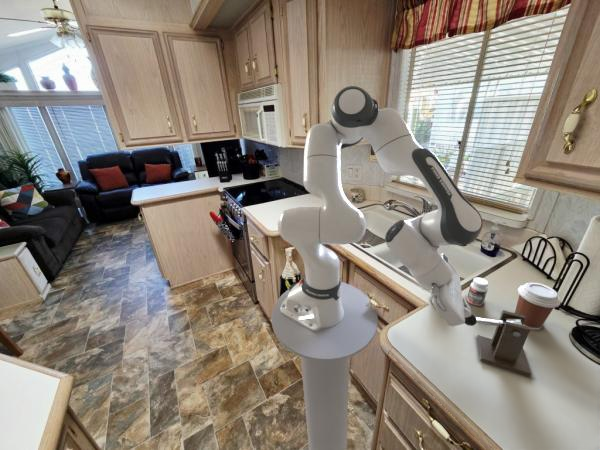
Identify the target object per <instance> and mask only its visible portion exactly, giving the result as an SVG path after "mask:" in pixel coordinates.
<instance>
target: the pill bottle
mask: <svg viewBox="0 0 600 450" xmlns="http://www.w3.org/2000/svg"><path fill="white" fill-rule="evenodd" d="M488 287H489V281H488V280H487V279H485V278H483V277H478V276H477V277H474V278H473V280H472V282H471V283H470V285H469V288H468V292H467V295H466V301H467V302H468V303H470V304H472V305H474V306H482V305H484V303H485V299H486V296H487V293H488V289H489V288H488Z"/></svg>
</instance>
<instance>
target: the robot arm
mask: <svg viewBox="0 0 600 450" xmlns="http://www.w3.org/2000/svg"><path fill="white" fill-rule="evenodd" d="M363 139H364V140H366V141H367V142H368V143H369V145H370V146H371V148H372V151H373V153H374V155H375V158H376V161H377V162H378V165H379V166H380V168H381V169H382V170H383V171H384V172H385V174H388V175H390V176H394V177H407V176H409V177H415V178H417V179H418V180H420V181H421V182H422V183H423V186H424V187H425V188H426V190H427V192H428V193H429V194H430V196H431V197H432V200H433V201H434V202H435V204H436V206H437V209H435V210H432V211H429V212H425V213H422V214H420V215H417V216H416V217H413V218H409V219H399V220H397V221H396V222H395V223H393V225H391V226H390V227H389V228H388V230H387V232H386V233H385V236H384V241H385V244H386V246H387V248H388V249H389V250H390V252H391V253H392V254H393V256H394V257H395V258H396V259H397V261H398V262H399V263H400V264H401V265H403V266H404V267H406V268H407V269H408V271H409V273H410V275H411V276H412V277H413V278H414V280H415V281H416V282H417V283H418V284H419V285H420V286H421V288H422V289H424V290H426V291H431V303H432V306H433V307H434V309H435V311H437V313H438V315H439V316H440V317H441V318H442V319H443V321H444V322H445V323H446V324H447V325H448V326H449V327H451V328H452V327H453V328H454V327H458V326H461V325H463V324H465V317H470V316H471V314H472V310H471V306H470V305H469V304H468V303H467V300H466V299H465V298H464V296H463V291H462V283H461V277H460V274H459V273H458V271H457V269H456V268H455V267H454V266H453V265H452V263H451V262H450V261H449V257H448V256H447V255H446V254H445V253H444V252H442V253H439V252H438V250H439V248H440V247H446V246H459V245H461V246H462V245H469V244H472V243H473V242H475V241H476V240H477V238H478V237H479V236H480V234H481V232H482V230H483V218H482V216H481V214H480V212H479V211H478V210H477V208H476V207H475V206H474V205H473V204H472V203H471V202H470V201H469V200H468V199H467V198H466V197H465V195H464V194H463V192H462V191H461V189H460V188H459V187H458V185H457V183H456V182H455V181H454V179H453V178H452V177H451V175H450V173H449V172H448V171H447V169H446V168H445V166H444V165H443V163H442V162H441V161H440V159H439V158H438V157H437V156H436V154H435V153H434V152H433V151H432V150H430V149H429V148H425V147H422V146H421V145H420V144H419V143H418V142H417V140H416V139H415V137H414V135H413V132H412V130H411V129H410V127H409V125H408V124H407V122H406V121H405V119H404V118H403V116H402V115H401V114H400V112H399V111H398V110H397V109H396V108H393V107H383V108H381V109H380V106H379V103H378V101H377V100H376V99H374V98H373V97H372V96H371V95H370V94H369V93H368V92H367V91H366V90H365V89H363V88H362V87H360V86H357V85H349V86H346V87H344V88H342V89H341V90H340V91H338V93H337V94H336V96H335V97H334V99H333V102H332V106H331V119H330V120H328V121H327V122H319V123H316V124H314V125H312V126H311V127H309V129H308V130H307V133H306V138H305V141H304V150H303V151H304V152H303V170H302V171H303V172H302V173H303V177H302V183H303V184H302V185H303V187H304V189H305V190H306V191H307V192H308V193H310V194H311V195H313V196H315V197H317V198H320V199H321V200H322V201H323V205H322V206H298V207H293V208H287V209H284V210H283V211H282V212H281V214H280V216H279V217H278V221H277V230H278V233H279V236H280V238H281V239H283V241H284V242H287V243H288V244H289V245H291V246H292V247H293V248H294V249H295V250H296V252H298V254H299V255H300V257H301V259H302V262H303V266H304V274H303V275H302V276H301V278H300V280H299V281H298V282H297V281H296V282H295V283H293V284H291V285H290V286H289V287H288V290H289V294H288V296H287V297H286V298H285V300H284V301H283V303H282V305H281V314H282V315H284V316H286V317H288V318H289V319H291V320H293V321H295V322H296V323H298V324H300V325H302V326H303V327H305V328H307V329H308V330H310V331H312V332H316V331H318V330H320V329H322V328H328V327H332V326H335V325H337V324H338V323H339V322H340V321H341V320H342V319H343V317H344V309H343V306H342V303H341V297H340V295H341V282H342V279H341V277H340V272H341V269H340V268H341V267H340V258H339V256H338V255H337V254H336V252H335V251H333V250H332V249H330V248H328V247H326V246H325V245H340V246H341V245H350V244H355V243H359V242H361V240H362V239H363V238H364V236H365V233H366V230H367V221H366V217H365V216H364V214H363V212H362V211H361V210H360V209H358V208H357V207H355V205H353V203H351V202H350V200H349V199H348V198H347V196H346V194H345V191H344V189H343V185H342V175H341V152H342V149H346V148H350V147H354V146H356V145H358V144H359V143H360V142H361V141H362V140H363Z"/></svg>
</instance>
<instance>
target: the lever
mask: <svg viewBox="0 0 600 450" xmlns="http://www.w3.org/2000/svg"><path fill="white" fill-rule="evenodd" d="M506 322H510V323H514V324H518V325H522V323H521V320H520V319H514V318H506V321H500V320H499V319H491V318H483V317H478V316H477V317H476V315H475V314H473V313H471V316H470V317H465V323H464V324H465V325H467V326H469V327H474V326H475V325H476V324H480V325H485V326H486V325H488V326H495V327H497V326H501V327H504V325H505V323H506ZM522 326H523V325H522Z"/></svg>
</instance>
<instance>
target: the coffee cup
mask: <svg viewBox="0 0 600 450" xmlns="http://www.w3.org/2000/svg"><path fill="white" fill-rule="evenodd" d="M517 293H518V299H517V303H516V307H515V311H514V313H516V314H520V315H524V316H525V318H526V319H525V321H524V323H523V326H526V327H529V328H530V330H535V331H536V330H537V331H538V330H541V329H542V327H543V325H544V324H545V323H546V321H547V319H548V318H549V316H550V314H551V313H552V311H553V310H554V308H559V306H560V305H561V303H562V300H561V298H560V297H559V294H558V292H557V291H556V290H555V289H554V288H552V287H551V286H548V285H546V284H543V283H540V282H536V281H535V282H532V281H530V282H526V283H525V284H521V285H520V286H519V287H518V288H517Z"/></svg>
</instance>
